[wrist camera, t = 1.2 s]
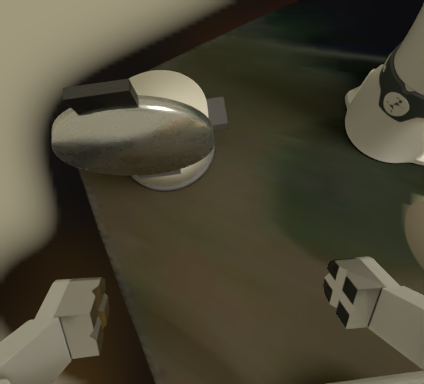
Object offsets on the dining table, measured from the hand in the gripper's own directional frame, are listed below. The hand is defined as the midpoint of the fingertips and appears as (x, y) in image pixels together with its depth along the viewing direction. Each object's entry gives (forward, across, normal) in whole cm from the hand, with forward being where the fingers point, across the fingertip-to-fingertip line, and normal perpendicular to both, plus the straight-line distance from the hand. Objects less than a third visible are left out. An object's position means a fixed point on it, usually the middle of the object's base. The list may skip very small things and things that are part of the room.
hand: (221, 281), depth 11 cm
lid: (+23, +6, +1) cm, 24 cm away
